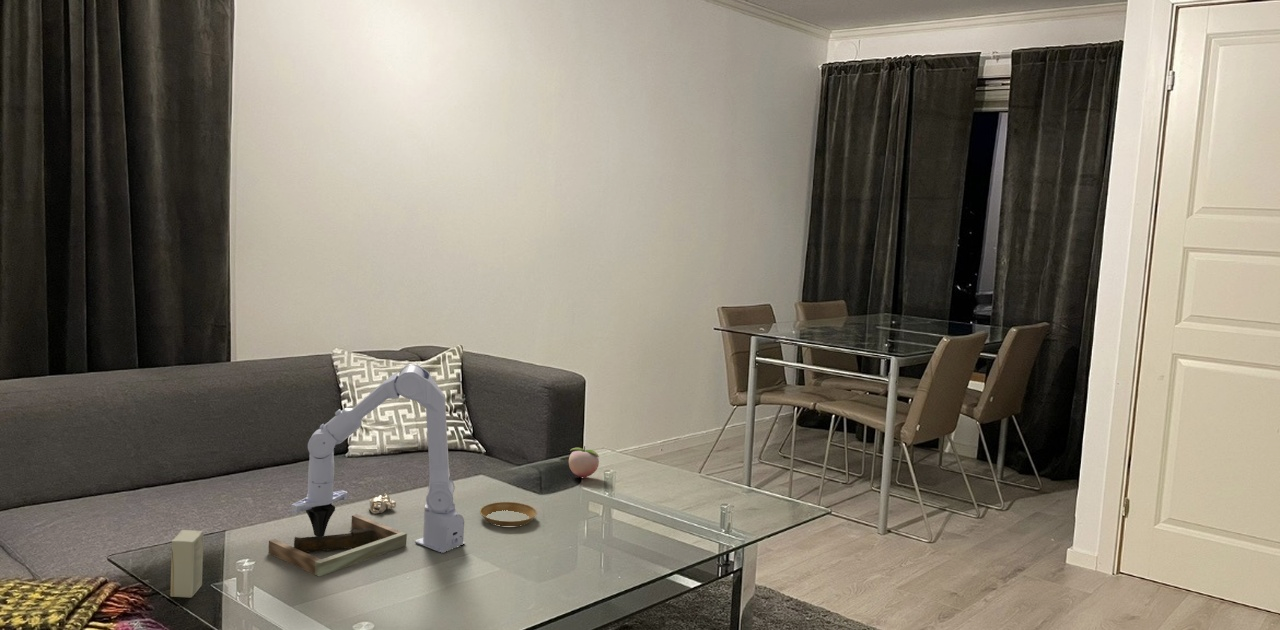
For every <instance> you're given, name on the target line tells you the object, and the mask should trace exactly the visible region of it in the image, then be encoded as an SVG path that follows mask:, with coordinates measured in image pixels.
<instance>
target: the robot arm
mask: <svg viewBox="0 0 1280 630" xmlns="http://www.w3.org/2000/svg"><path fill="white" fill-rule="evenodd" d="M398 374H399V375H398ZM400 396H401V397H403V398H405V399H408V400H411V401H414V402H417V403H418V404H420V405H421V406H422V407H424V408H425V415H426V418H425V419H426V433H427V434H426V436H427V449H428V468H429V469H428V470H429V483H428V488H427V489H428V492H427V495H426V497H425V501H426V502H425V505H424V512H423V515H424V516H423V530H422V531H423V532H422V533H423V535H422V537H421V538H418V539H415V540H414V543H416V544H418V545H421V546H423V547H426V548H428V549H430V550H433V551H435V552H439V553H440V552H441V554H443V553H446V551H447V552H449V551H451V550H450V549H452V548H455V547H457V546H460V545H463V544H465V545H466V541H464V535H465V534H464V533H465V518H464V516H463V515H462V514H460V512H458V511H457V509H456V504H455V503H454V492H455V489H456V487H455V483H454V481H453V479H452V478H451V474H450V473H451V470H450V466H449V465H450V464H449V463H450V462H449V449H448V448H449V446H448V445H449V444H448V430H447V429H448V428H447V425H448V423H447V410H446V409H447V408H446V396H445V393H444V392H443V391H442V389H441V388H440V386H439V385H438V384H437V382H436V381H435V380H434V378H433V377H432V374H431V373H430V372H429V370H427V369H425V368H423V367H422V366H420V365H418V364H415V363H411V364H410V363H409V364H408V365H407V364H406V365H405V366H404V367H402V369H401V370H400V371H399V370H398V371H396V372H395V373H393V374H392V375H390V376H389V377H388V378H387V379H385V380H384V381H382V382H381V384H379V385H378V386H377V387H376V388H375V389H373V390H372V391H371V392H370V393H369V394H367V396H365V397H364V398H363V399H362V400H361V401H360V402H359V403H358V404H356V405H355V406H354V407H345V408H343V409H342V410H341V409H340V408H339V409H338V410H336V411H335V412H334V415H335V416H333V417H332V418H331V419H329V421H328V422H326V423H325V424H324V423H322V424H320V426H319V428H318V429H316V430H315V431H314V432H313V433H312V435H311V437H310V438H309V440H308V443H307V450H308V453H309V461H308V473H307V475H308V476H307V494H306V497H304V498H303V499H300V500H298V501H296V502H294V503H291V513H293V514H295V515H300V514H301V512H306V514H307V516H308V518H309V520H310V522H311V525H312V530H313V535H314V536H325V533H326V529H327V527H328V523H329V522H330V519H331V517H332V516H333V514H334V512H335V511H336V506H335V505H333V503H336V502H341V501H343V502H344V501H347V500H349V499H348V496H349V493H348V491H345V490H338V491H334V483H335V482H334V481H335V480H334V478H335V477H334V475H335V460H334V458H335V457H334V456H335V455H334V454H335V449H334V448H336V445H340V444H342V443H343V442H344V441H345V440H346V439H347V438H349V437H350V436H351V435H353V434H354V433H355V432H356V431H357V430H359V429H360V428H361V427H362V422H363V419H364V418H365V417H366V416H367V415H368V414H370V413H371V412H372V411H374V410H375V409H376V408H377V407H379V406H380V405H382V404H383V403H384V402H385V401H386V400H390V399H391V400H392V399H395V400H396V399H400ZM463 546H464V545H463ZM460 547H461V546H460ZM457 548H458V547H457ZM455 549H456V548H455ZM448 550H449V551H448ZM452 550H453V549H452ZM442 552H443V553H442Z"/></svg>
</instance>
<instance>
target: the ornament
mask: <svg viewBox="0 0 1280 630" xmlns="http://www.w3.org/2000/svg"><path fill="white" fill-rule="evenodd" d="M368 506H369V510H370V513H372V514H373V515H377V514H381V513H384V512H385V511H386V510H390V509H395V508H396V507H397V502H396V501H395V500H393V499H391V497H390V496H389V495H388V494H387V493H383V495H381V494H380V495H378V496H375V497H372V498H370V499H369V505H368Z"/></svg>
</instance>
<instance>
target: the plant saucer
mask: <svg viewBox="0 0 1280 630" xmlns="http://www.w3.org/2000/svg"><path fill="white" fill-rule="evenodd" d="M502 510H503V511H504V510H505V511H506V510H508V511H514V512H519V513H523V514H526V515H527V516H529V519H526V520H521V521H499V520H494V519H490V518H487V517H486V516H487V515H488V514H491V513H492V512H496V511H502ZM479 513H480V515H481V516H482V518H483V519H484V520H485V521H488V524H490V523H492V524H496V525H500V526H520V525H523V526H525V525H524V524H526V525H528V523H530V522H531V521H532V520H533V519H534V518H535V517H536V516H537V514H538V512H537V509H536V508H534V507H533V506H531V505H529V504H525V503H520V502H513V501H499V502H493V503H489V504H485V505H483V506H482V507H481V508H480V510H479ZM492 524H491V525H492ZM520 527H521V526H520Z"/></svg>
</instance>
